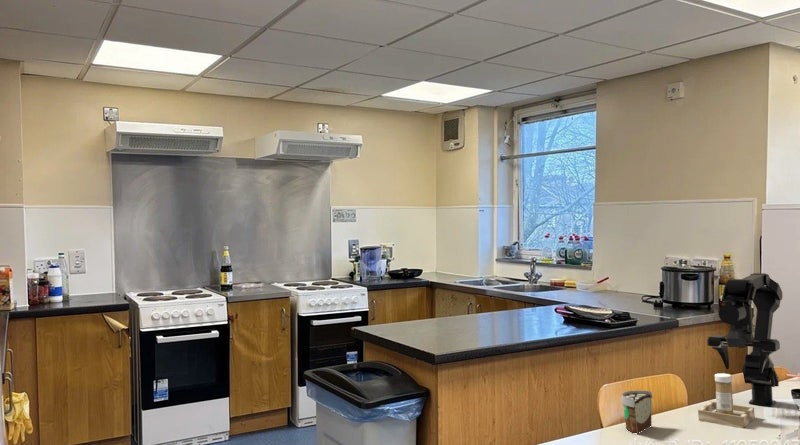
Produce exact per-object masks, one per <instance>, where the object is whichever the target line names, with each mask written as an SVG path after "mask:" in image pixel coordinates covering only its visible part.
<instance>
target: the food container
mask: <svg viewBox="0 0 800 445" xmlns="http://www.w3.org/2000/svg"><path fill="white" fill-rule="evenodd" d="M652 399H653V394H652V391H649V390H627V391H625V392H623V393H622V395H621V398H620V403H621V404H622V405H623V406H622V407H623V414H624V421H625V429H627V430H628V431H630V432H632V433H631V434H633V433H637V434H638V433H639V432H641V431H643V430H644V429H646V430H648V429H650V428H651V427H650V426H652V425H653V424H652ZM649 427H650V428H649ZM652 427H653V426H652ZM647 428H648V429H647ZM627 430H626V431H627ZM628 431H627V432H628ZM630 432H629V433H630ZM643 432H644V431H643ZM641 433H642V432H641ZM638 435H639V434H638Z"/></svg>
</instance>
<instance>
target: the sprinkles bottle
mask: <svg viewBox="0 0 800 445" xmlns="http://www.w3.org/2000/svg"><path fill="white" fill-rule="evenodd" d="M732 376H733V375H732V374H729V373H724V372H722V373H720V372H719V373H715V374H714V381H715V400H716V401H715V402H717V413H723V414H729V415H733V405H734V398H733V387H732V386H733V384H732V383H733V377H732Z"/></svg>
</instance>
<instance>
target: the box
mask: <svg viewBox="0 0 800 445" xmlns="http://www.w3.org/2000/svg"><path fill="white" fill-rule="evenodd" d="M697 411H698V415H697V416H698V421H699V422H704V423H705V422H706V423H709V424H711V423H712V424H718V425H723V426H728V427H734V428H740V429H744V428H746V427H747V426H748V425H749V424H750V423H751V422H752V421H754V419H755V407H751V406H745V405H737V404H733V415H729V414H723V413H717V402H716V401H709V402H708V403H707V404H706V405H703V406H702V407H701V408H699V409H698V410H697Z"/></svg>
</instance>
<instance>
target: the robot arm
mask: <svg viewBox="0 0 800 445" xmlns="http://www.w3.org/2000/svg"><path fill="white" fill-rule="evenodd" d="M783 296H784V295H783V291H782V288H781V286H780V284H779V283H778V282H777V281H775V280H773V279H772V278H771V277H770V275H769V273H768V274H767V273H765V272H763V273H760V272H758V273H756V272H753V273H750V274H749V275H748V276H745V277H744V278H741V279H740V278H729V279H727V281H726V282H725V284H724V287H723V292H722V296H721V302H724V305H722V306H721V307H720V308H719V311H718V317H719V320H720V321H722V322H723V323H725V324H727V325H730V326H729V331H728V332H727V334H726V335H725V334H724V335H722V334H721V335H720V334H712V335H710V336H708V337H707V341H706V342H707V343H706V344H707V346H708V347H712V349H713V350H715V351H716V352H718V354H719V356H720V358H721V360H722V363H723V364H724V367H725V369H726V370H729V368H730V362H729V348H739V349H745V348H746V347H752V351H751V352H750V353H749V354H746V355H745V357H744V358H745V359H744V364H743V366H742V374H743V375H742V376H743V380H744V384H751V387H750V388H751V399H750V400H749V401H748V404H750V405H757V406H758V405H759V406H765V407H773V406H774V405H775V404H777V401H776V400H774V399H773V388H776V387H779V383H780V382H779V376H778V374H777V372H776V369H775V367H774V366H775V365H774V362H773V361H772V359H771V356H770V355H771V354H773V353H774V352H778V351H779V350H780V349H781V345H780V341H779V340H778V339H776V338H775V339H773V338H772V337H771V336H772V329H773V328H772V327H773V316H774V314H775V312H776V311H777V310H778V309H779V308H780V307H781V306H780V305H781V301H782V300H783ZM752 303H753V304H754V305H753V304H752ZM752 305H753V306H755V309H756V314H755V315H756V316H755V326H754V323H753V314H752V313H753V312H752ZM753 327H754V328H753ZM753 329H754V330H753Z"/></svg>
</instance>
